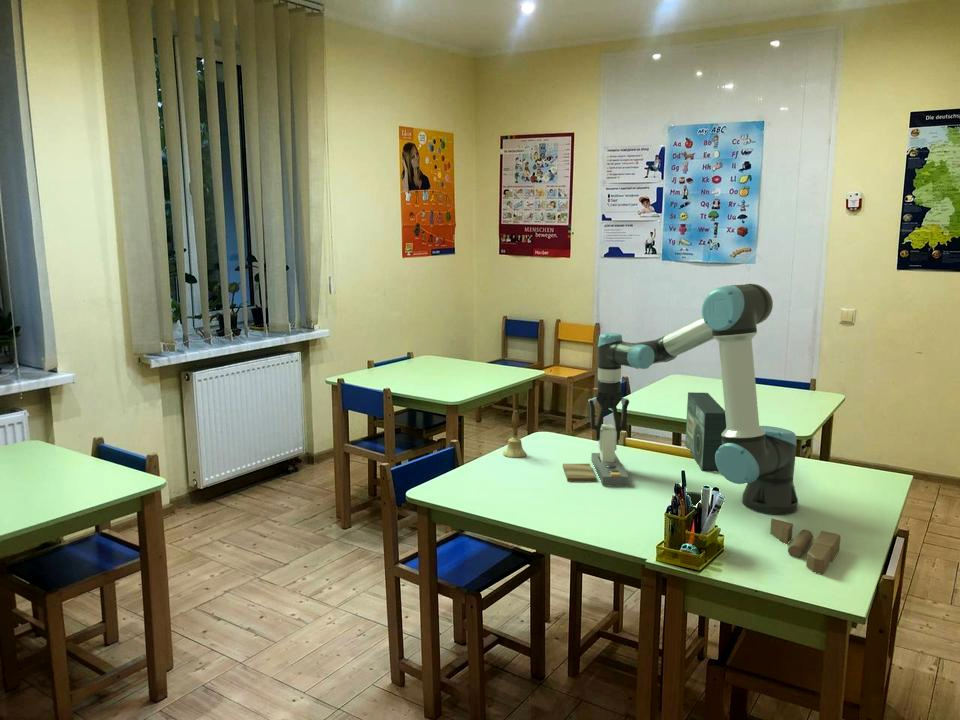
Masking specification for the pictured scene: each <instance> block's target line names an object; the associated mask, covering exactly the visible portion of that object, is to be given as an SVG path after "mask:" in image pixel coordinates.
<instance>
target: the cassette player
mask: <svg viewBox="0 0 960 720" xmlns="http://www.w3.org/2000/svg"><path fill="white" fill-rule="evenodd" d="M686 403H687V405H686V406H687V407H686V423H685V424H686V425H685V441H684V443H685V444H684V445H685V447H686V449H687V450H688V449H690V450H691V451H690V452H689V453H690V454H691V457H692V458H693V460H694V461H695V462H696V465H699V466H698V467H699V469H700V470H701V472H714V471H717V473H720V472H719V470H718V468H717V466H716V462H715V454H716V451H717V450H718V449H719V447H720V446H721V445H722V436H721V434H722V433H723V431H724V430H725V429H726V416H725V408H723V407H722V406H721V405H720V404H719V403H718V402H717V401H716V400H715V399H714V398H713V397H712V395H711V394H710V393H708V392H693V391H692V392H691V391H690V392H687V402H686Z"/></svg>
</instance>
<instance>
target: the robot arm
mask: <svg viewBox="0 0 960 720" xmlns="http://www.w3.org/2000/svg"><path fill="white" fill-rule="evenodd" d="M773 306H774V300H773V298H772V295H771V294H770V292H769V290H768V289H767V288H765V287H763V286H761V285H759V284H755V283H746V284H734V285H733V284H732V285H731V284H730V285H728V284H727V285H725V286H719V287H716V288H714V289H712V290H711V291H710V292H708V294H707V295H706V296H705V297H704V300H703V302H702V306H701V317H700V318H698V319H696V320H693V321H691V322H690V323H689V322H688V324H685V325H684V326H681V327H679V328H677V329H675V330H673V331H670V332H669V333H667V334H665V335H663V336H662V337H659V338H657V339H653V340H648V341H640V342H627V341H623V335H622V334H620V333H617V332H605V333H601V334H600V335H599V337H598V345H597V355H598V356H597V360H598V361H597V362H598V363H597V379H598V381H597V384H596V385H597V387H596V388H597V393H596V395H595V396H594V397H593V398H588V399H587V401H588V404H589V423H590V424H589V425H590V428H591V430H595V439H596V441H598V450H599V451H600V450H602V433H603V431H602V430H601V425H602V424H603V420H604V416H605V412H606V410H607V409H611V412H612V416H613V417H612V418H613V421H614V427H615V451H617V446H618V445H617V441H619V440H620V439H621V431H622V430H625V429H626V428H627V419H628V418H627V416H628V406H629V404H630V400H629V399H628V398H625V397H623V396H622V395H621V394H622V393H621V390H622V388H621V387H622V386H621V385H622V384H621V383H622V382H621V380H622V366H624V367H629V368H634V369H638V370H639V369H640V370H646V369H649V368H650V367H651V366H652V365H654V364H659V363H660V364H661V363H667V362H671V361H673V360H675V359H677V357H678V356H680V355H682V354H684V353H686V352H688V351H690V350H692V349H695V348H696V347H699V346H701V345H703V344H706V343H707V342H710V341H713V340H716V341H717V342H718V348H719V359H720V360H719V361H720V369H721V371H720V372H721V380H722V391H723V392H722V393H723V402H724V403H723V404H724V410H725V416H726V429H725V430H724V431H723V433H722V434H721V436H722V445H721V446H720V447H719V449H718V450H717V451H716V454H715V462H716V466H717V468H718V470H719V472H718V473H720V475H721V476H723V477H724V478H725V480H727V481H728V482H730V483H732V484H735V485H736V484H737V485H743V484H744V485H745V484H746V485H745V487H744V490H743V493H742V498H741V502H742V504H743V506H744V507H746V508H748V509H750V510H753V511H756V512H758V513H762V514H767V515H769V514H770V515H778V516H779V515H790V514H793V513H795V512H797V511H798V509H799V508H798V507H799V500H798V495H797V492H796V489H795V488H796V487H795V483H794V477H795V476H794V475H795V464H796V455H797V454H796V453H797V446H798V444H797V435H796V432H794V431H793V430H789V429H786V428H783V427H777V426H772V425H771V426H770V425H760V419H759V406H758V396H757V386H756V372H755V362H754V361H755V360H754V352H753V351H754V349H753V339H754V337H755V336H756V335H757V334H758V329H757V325H760V324H761V323H763V322H764V321H766V320H767V319H768V318H769V317H770V315H771V313H772V311H773V308H774V307H773ZM620 402H621V405H622V406H621V419H620V420H619V415H618V409H617V406H619V403H620ZM597 403H598V404H599V405H600V406H599V412H598V414H597V420H596V411H595V409H596V408H595V406H596V404H597Z"/></svg>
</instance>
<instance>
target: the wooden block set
mask: <svg viewBox="0 0 960 720" xmlns="http://www.w3.org/2000/svg"><path fill="white" fill-rule="evenodd" d="M770 519H771V520H770V529H769V534H770V535H771V536H772V537H774V538H776V539H777V540H778V539H779V540H778V541H780V542H781V543H782V544H784V543H785V544H784V545H786V544H787V545H788V544H789V543H790V542H791V541H792V539H793V532H794V531H793V529H794V523H793V522H788V521H785V520H782V519H781V520H780V519H775V518H770ZM791 538H792V539H791ZM813 539H814V534H813V532H812V531H811V530H809V529H802V530H801V531H799V533H798V535H796V537H795V539H794V540H793V541H792V542H791V543H790V545H789V546H788V547H787V552H788V554H789V555H790V556H791V557H792V556H794V557H793V558H796V557H797V558H800V557H801V556H802V555H803V553H804V552H805V550H806V549H807V548H808V546H809V545H810V544H811V542H812V541H813ZM841 539H842V538H841V534H838V533H835V532H834V533H833V532H830V531H825V530H821V531H820V532H819V533H818V535H817V537H816V538H815V540H814V541H813V542H812V545H811V547H810V548H809V550H808V551H807V552H806V554H807V555H806V565H805V566H806V568H808V570H810V571H811V570H812V571H811V572H813V573H814V572H816V573H815V574H818V573H820V574H819V575H823V574H824V573H825V571H826V570H827V568H828V566H829V565H830V564H831V563H830V562H832V563H833V561H834V560H835V558H836V557H837V555H838V553H839V552H840V548H841V547H840V546H841ZM789 541H790V542H789ZM788 542H789V543H788ZM838 551H839V552H838ZM836 554H837V555H836ZM835 556H836V557H835ZM834 557H835V558H834ZM833 559H834V560H833Z"/></svg>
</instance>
